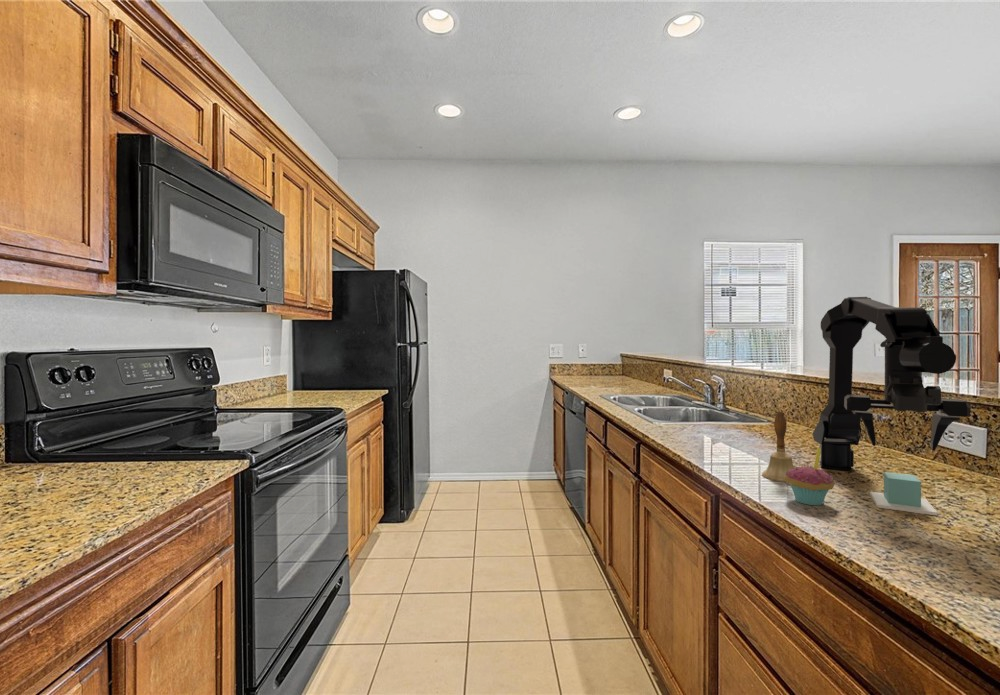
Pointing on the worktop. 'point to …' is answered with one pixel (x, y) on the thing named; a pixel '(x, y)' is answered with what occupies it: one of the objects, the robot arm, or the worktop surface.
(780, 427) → the hand bell
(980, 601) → the worktop surface
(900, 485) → the cube
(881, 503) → the tile
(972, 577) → the worktop surface
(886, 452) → the worktop surface
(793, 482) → the cupcake
